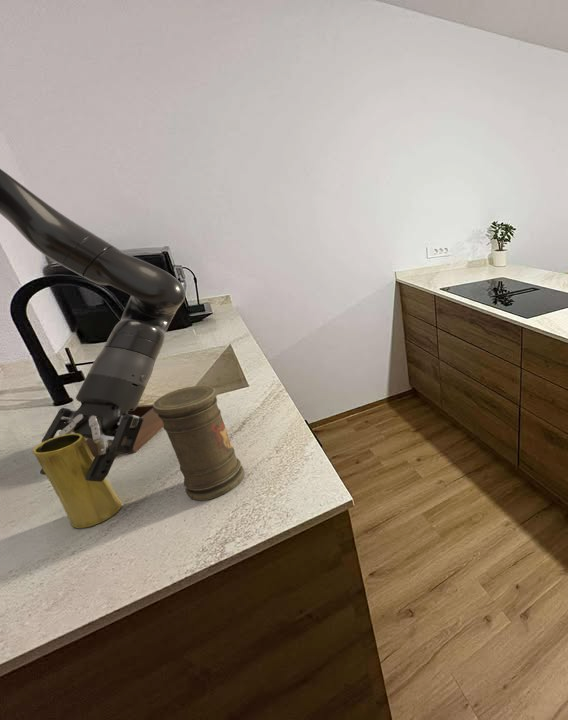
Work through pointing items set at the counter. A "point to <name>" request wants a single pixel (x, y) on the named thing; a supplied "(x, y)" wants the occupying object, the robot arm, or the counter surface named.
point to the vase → (76, 480)
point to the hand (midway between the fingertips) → (71, 478)
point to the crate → (146, 431)
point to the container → (200, 441)
